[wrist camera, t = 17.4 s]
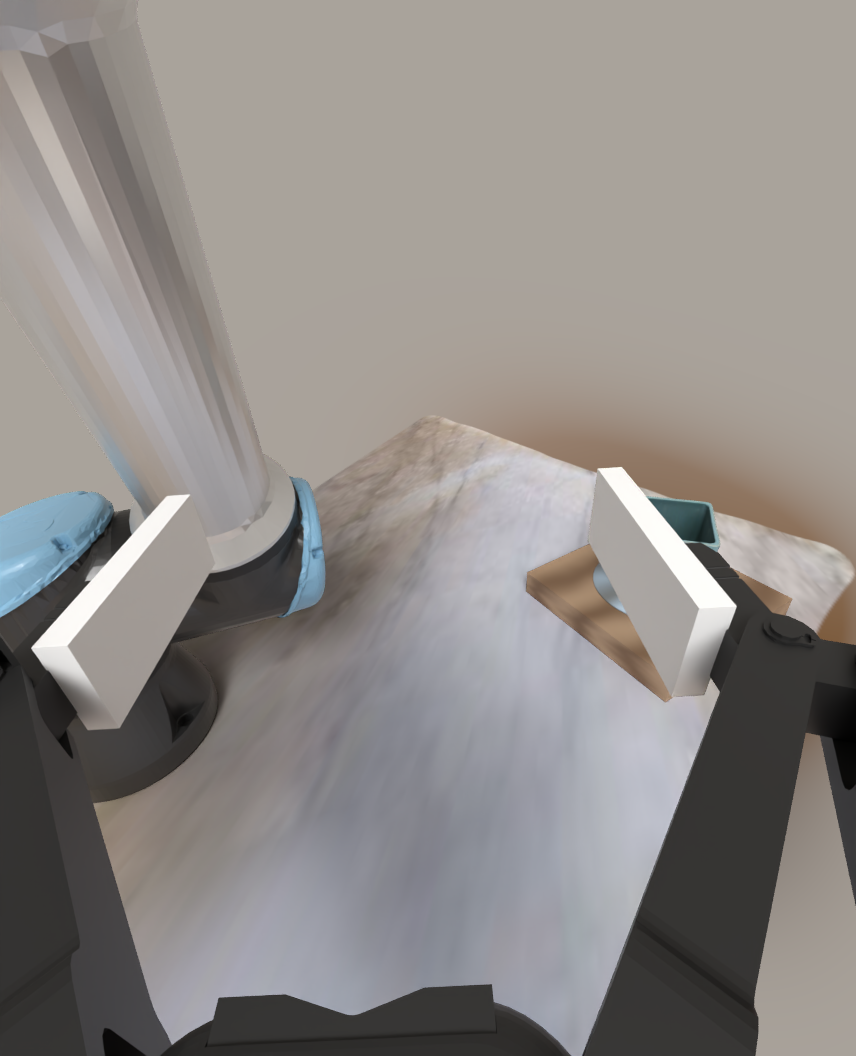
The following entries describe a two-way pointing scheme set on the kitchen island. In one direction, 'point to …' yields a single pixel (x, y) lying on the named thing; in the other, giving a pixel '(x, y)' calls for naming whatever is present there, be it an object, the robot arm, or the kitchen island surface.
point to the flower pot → (689, 520)
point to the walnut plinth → (610, 610)
